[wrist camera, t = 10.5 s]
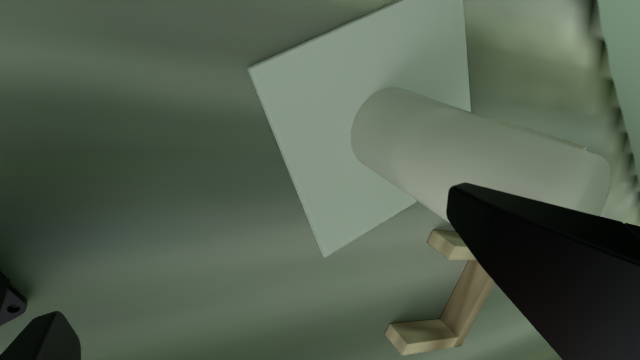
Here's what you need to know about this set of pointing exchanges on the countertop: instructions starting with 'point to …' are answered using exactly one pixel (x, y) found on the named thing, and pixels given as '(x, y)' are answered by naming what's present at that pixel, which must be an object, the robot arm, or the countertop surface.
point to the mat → (357, 106)
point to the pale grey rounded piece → (471, 154)
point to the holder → (458, 309)
